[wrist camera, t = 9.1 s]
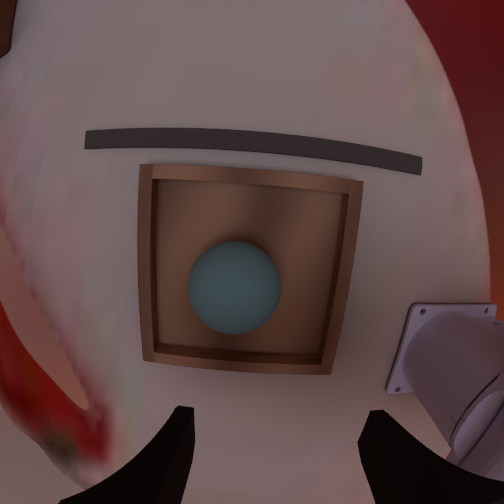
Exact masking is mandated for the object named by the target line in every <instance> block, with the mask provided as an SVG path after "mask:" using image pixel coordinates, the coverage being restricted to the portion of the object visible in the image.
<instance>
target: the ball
mask: <svg viewBox="0 0 504 504" xmlns="http://www.w3.org/2000/svg"><path fill="white" fill-rule="evenodd" d="M280 295H281V280H280V275H279V272H278V270H277V267H276V266H275V264H274V262H273V261H272V259H271V258H270V257H269V256H268V255H267V254H266V253H265V252H264V251H263V250H261V249H260V248H258V247H257V246H254V245H252V244H250V243H246V242H241V241H226V242H222V243H219V244H216V245H214V246H212V247H210V248H209V249H207V250H206V251H205V252H203V253H202V254H201V255H200V256H199V257H198V259H197V260H196V261H195V263H194V265H193V267H192V269H191V271H190V274H189V278H188V296H189V300H190V303H191V306H192V308H193V310H194V312H195V313H196V315H197V316H198V317H199V319H200V320H201V321H202V322H203V323H205V324H206V325H207V326H209V327H210V328H212V329H214V330H216V331H219V332H222V333H226V334H243V333H247V332H250V331H253V330H255V329H257V328H259V327H260V326H262V325H263V324H264V323H266V322H267V320H268V319H269V318H270V317H271V316H272V315H273V313H274V312H275V310H276V308H277V306H278V303H279V300H280Z"/></svg>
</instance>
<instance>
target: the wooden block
mask: <svg viewBox="0 0 504 504" xmlns="http://www.w3.org/2000/svg"><path fill="white" fill-rule="evenodd" d="M15 5H16V0H0V57H1V56H2V55H4V54H5V53H7V52H8V50H9V46H10V37H11V30H12V23H13V16H14V11H15Z"/></svg>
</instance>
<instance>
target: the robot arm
mask: <svg viewBox="0 0 504 504" xmlns="http://www.w3.org/2000/svg"><path fill="white" fill-rule="evenodd" d="M422 309H424V310H423V312H422V313H420V311H421V310H422ZM485 309H486V310H485ZM496 311H497V306H496V305H495V304H414V305H413V306H412V307H411V309H410V312H409V315H408V319H407V323H406V327H405V330H404V334H403V337H402V341H401V344H400V347H399V351H398V354H397V357H396V360H395V363H394V366H393V369H392V372H391V375H390V378H389V381H388V384H387V386H386V392H387V394H390V395H391V394H401V393H410V392H414V393H415V394H416V395H417V397H418V398H419V400H420V401H421V403H422V404H423V406H424V407H425V409H426V411H427V412H428V414H429V415H430V417H431V418H432V420H433V421H434V423H435V424H436V426H437V427H438V429H439V431H440V432H441V434H442V435H443V437H444V438H445V440H446V442H447V443H448V445H449V446H450V448H451V450H450V453H449V454H448V456H447V457H446V460H445V459H443V458H442V457H440V456H438V455H437V454H435V453H434V452H433V451H431V450H430V449H428V448H427V447H426V446H424V445H423V444H422V443H421V442H419V441H418V440H417V439H416V438H415V437H413V436H412V435H411V434H410V433H409V432H408V431H406V430H405V429H404V428H403V427H402V426H401V425H400V424H399V423H398V422H397V421H395V420H394V419H393V418H392V417H391V416H390V415H389V414H388V413H387V412H385V411H384V410H374V411H370V413H369V416H368V418H367V421H366V423H365V426H364V428H363V431H362V433H361V435H360V438H359V440H358V442H357V443H358V448H359V454H360V458H361V463H362V466H363V469H364V472H365V474H366V477H367V480H368V483H369V486H370V489H371V491H372V494H373V497H374V500H375V503H376V504H504V323H503V322H501V321H500V320H499V319H497V318H496V317H495V314H496ZM396 388H397V389H396ZM194 446H195V425H194V408H192V407H185V406H177V407H176V408H175V410H174V411H173V413H172V414H171V416H170V417H169V419H168V420H167V422H166V423H165V424H164V426H163V427H162V428H161V429H160V431H159V432H158V433H157V434H156V435H155V437H154V438H153V439H152V440H151V441H150V442H149V443H148V444H147V445H146V446H145V447H144V448H143V449H142V450H141V451H140V452H139V453H138V454H137V455H136V456H135V457H134V458H133V459H132V460H131V461H130V462H128V463H127V464H126V465H125V466H123V467H122V468H121V469H119V470H118V471H117V472H115V473H114V474H112V475H111V476H110V477H108V478H107V479H105V480H103V481H102V482H100V483H98V484H96V485H94V486H92V487H91V488H89V489H87V490H85V491H83V492H81V493H78V494H76V495H73V496H71V497H69V498H66V499H63V500H61V501H60V502H59V503H58V504H181V501H182V497H183V494H184V490H185V486H186V483H187V479H188V475H189V472H190V468H191V464H192V460H193V453H194Z"/></svg>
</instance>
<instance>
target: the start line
mask: <svg viewBox="0 0 504 504" xmlns="http://www.w3.org/2000/svg"><path fill="white" fill-rule="evenodd" d="M140 147H158V148H201V149H222V150H238V151H252V152H264V153H275V154H286V155H295V156H304V157H312V158H320V159H328V160H335V161H342V162H349V163H356V164H362V165H368V166H374V167H380V168H385V169H391V170H396V171H401V172H407V173H412V174H416V175H421V171H422V157H419V156H414V155H410V154H405V153H401V152H396V151H391V150H386V149H381V148H376V147H371V146H365V145H360V144H354V143H348V142H341V141H335V140H328V139H321V138H313V137H306V136H297V135H288V134H279V133H268V132H256V131H243V130H226V129H203V128H130V129H108V130H92V131H86V135H85V147H84V149H98V148H140Z"/></svg>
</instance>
